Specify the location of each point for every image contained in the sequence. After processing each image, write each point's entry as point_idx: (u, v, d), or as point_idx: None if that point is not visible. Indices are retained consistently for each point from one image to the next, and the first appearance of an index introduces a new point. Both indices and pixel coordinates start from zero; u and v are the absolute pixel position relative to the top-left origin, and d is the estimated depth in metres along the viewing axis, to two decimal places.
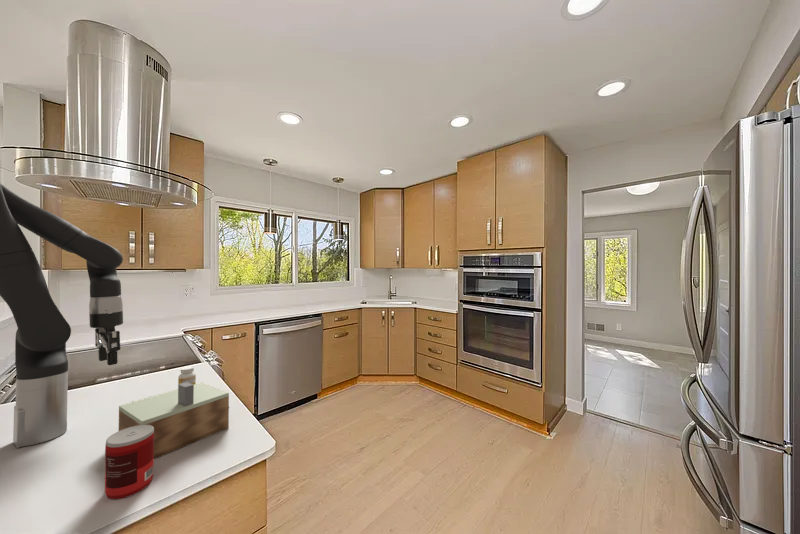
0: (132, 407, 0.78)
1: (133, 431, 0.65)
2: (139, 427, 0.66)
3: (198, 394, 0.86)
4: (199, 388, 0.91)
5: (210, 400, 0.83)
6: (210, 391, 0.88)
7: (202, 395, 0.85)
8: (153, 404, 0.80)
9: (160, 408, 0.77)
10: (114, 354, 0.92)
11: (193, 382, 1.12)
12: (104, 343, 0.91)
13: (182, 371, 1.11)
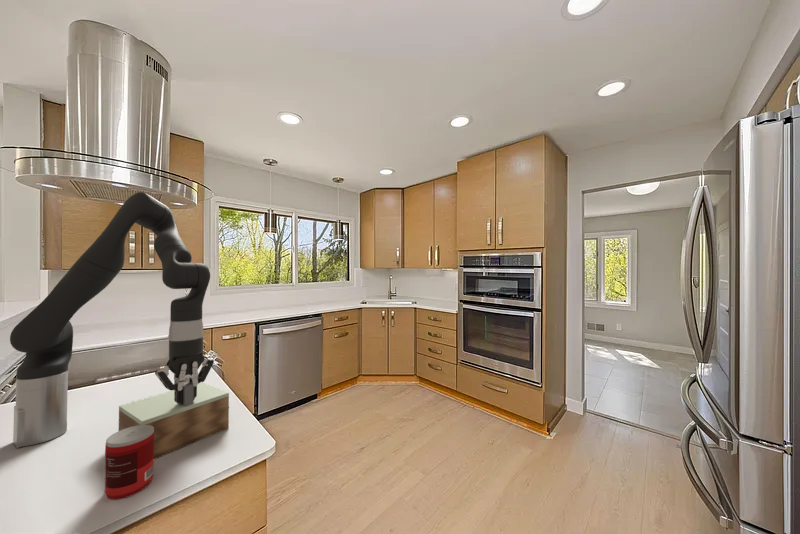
0: (132, 407, 0.78)
1: (133, 431, 0.65)
2: (139, 427, 0.66)
3: (198, 394, 0.86)
4: (199, 388, 0.91)
5: (210, 400, 0.83)
6: (210, 391, 0.88)
7: (202, 395, 0.85)
8: (153, 404, 0.80)
9: (160, 408, 0.77)
10: None
11: None
12: (197, 374, 0.81)
13: None
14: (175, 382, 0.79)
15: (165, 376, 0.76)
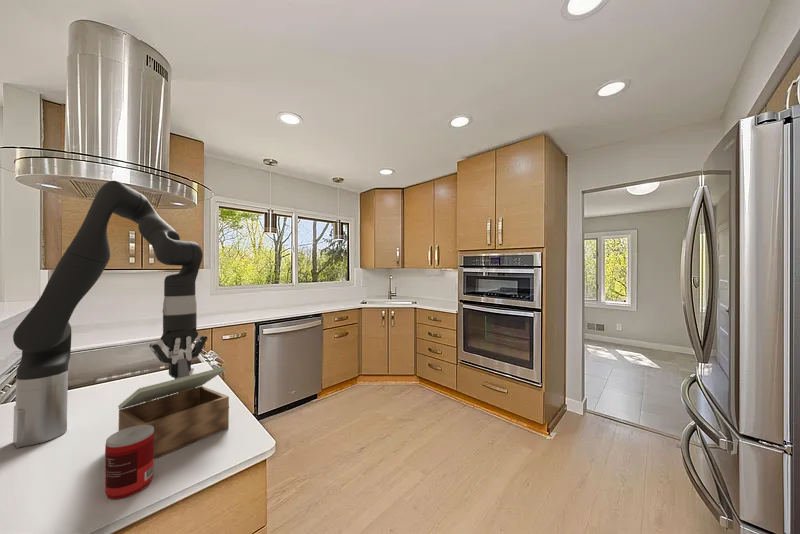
0: None
1: (133, 431, 0.65)
2: (139, 427, 0.66)
3: None
4: None
5: (207, 372, 0.84)
6: None
7: None
8: None
9: None
10: None
11: None
12: (191, 349, 0.84)
13: None
14: (169, 356, 0.81)
15: (159, 349, 0.78)
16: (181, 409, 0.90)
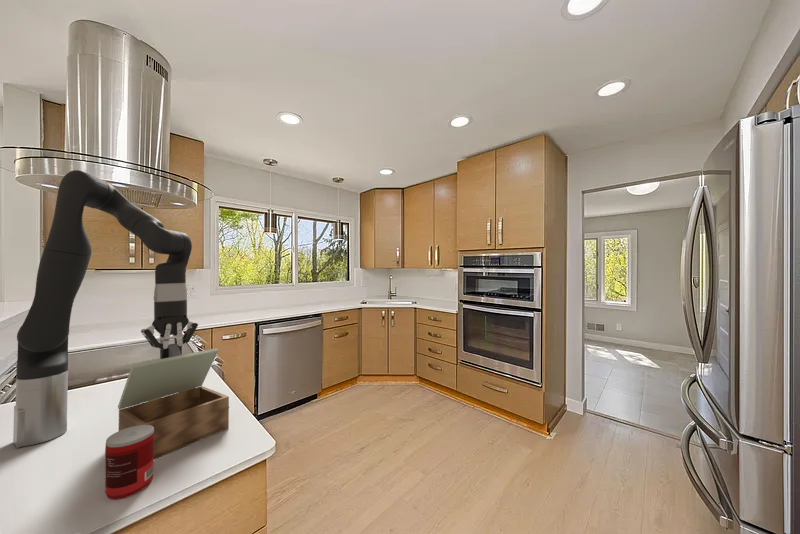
0: None
1: (133, 431, 0.65)
2: (139, 427, 0.66)
3: None
4: None
5: (199, 352, 0.87)
6: None
7: None
8: None
9: None
10: None
11: None
12: (182, 335, 0.87)
13: None
14: (161, 341, 0.84)
15: (150, 334, 0.81)
16: (181, 409, 0.90)
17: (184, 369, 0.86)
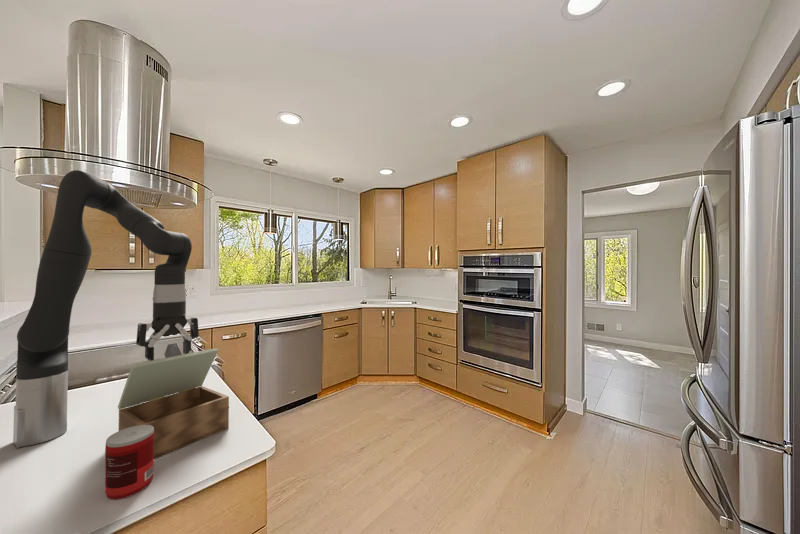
0: None
1: (133, 431, 0.65)
2: (139, 427, 0.66)
3: None
4: None
5: (199, 352, 0.87)
6: None
7: None
8: None
9: None
10: None
11: None
12: (186, 331, 0.89)
13: None
14: (149, 339, 0.83)
15: (145, 330, 0.81)
16: (181, 409, 0.90)
17: (184, 369, 0.86)
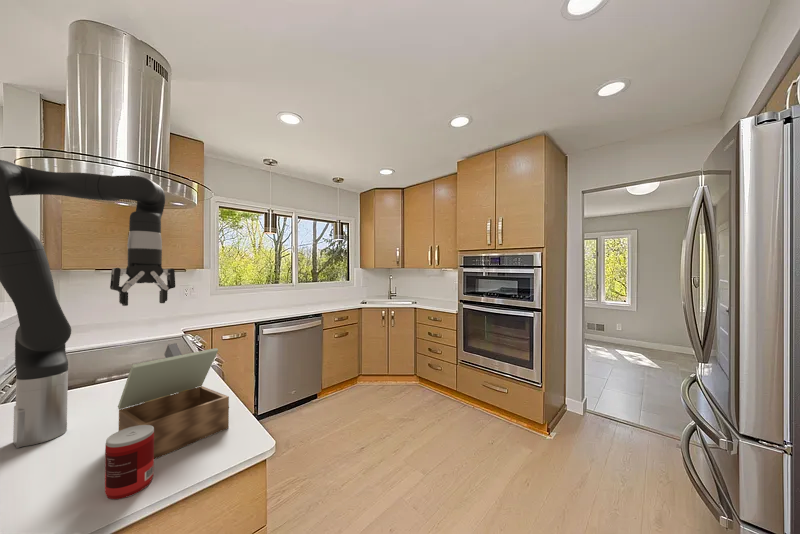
0: None
1: (133, 431, 0.65)
2: (139, 427, 0.66)
3: None
4: None
5: (199, 352, 0.87)
6: None
7: None
8: None
9: None
10: None
11: None
12: (162, 280, 0.89)
13: None
14: (123, 285, 0.83)
15: (118, 274, 0.81)
16: (181, 409, 0.90)
17: (184, 369, 0.86)
